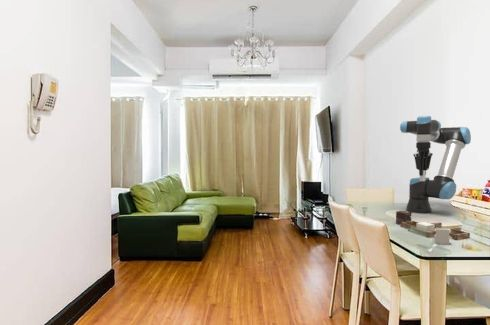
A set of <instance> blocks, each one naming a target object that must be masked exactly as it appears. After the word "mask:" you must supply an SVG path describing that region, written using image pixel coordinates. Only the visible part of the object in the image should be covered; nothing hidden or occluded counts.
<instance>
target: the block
mask: <svg viewBox="0 0 490 325" xmlns="http://www.w3.org/2000/svg"><path fill="white" fill-rule="evenodd" d="M416 228H417V229H421V230H424V231H427V232H430V231H436V228H435V225H434V224H430V223H429V222H426V221H422V222H419V223H416Z"/></svg>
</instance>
